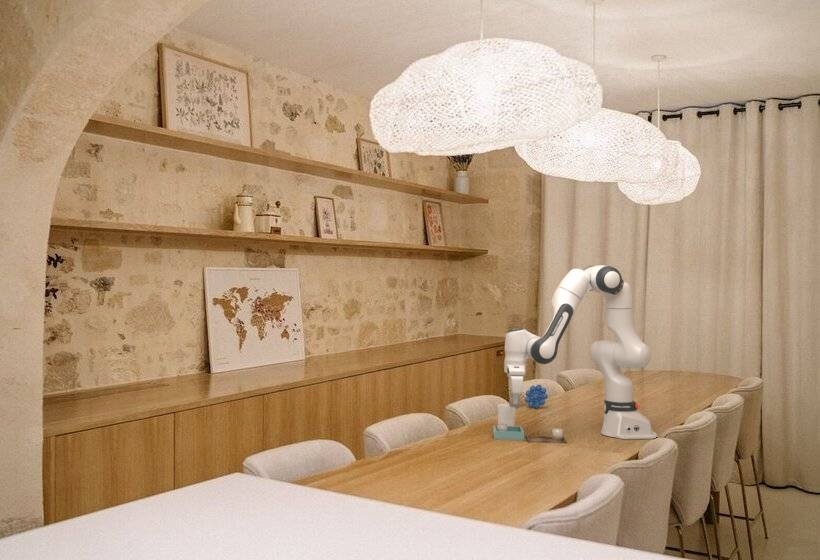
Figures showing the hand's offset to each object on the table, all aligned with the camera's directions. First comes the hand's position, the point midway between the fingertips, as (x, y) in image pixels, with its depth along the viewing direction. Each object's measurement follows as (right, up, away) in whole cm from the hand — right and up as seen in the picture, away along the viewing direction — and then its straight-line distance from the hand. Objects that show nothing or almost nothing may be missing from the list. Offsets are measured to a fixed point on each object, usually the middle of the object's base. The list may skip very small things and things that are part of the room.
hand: (514, 402), depth 299 cm
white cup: (-1, -14, +18) cm, 23 cm away
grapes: (+21, -14, +69) cm, 73 cm away
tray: (+12, -15, -6) cm, 19 cm away
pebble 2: (0, -2, 0) cm, 2 cm away
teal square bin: (-3, -14, 0) cm, 14 cm away
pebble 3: (+16, -14, -6) cm, 22 cm away
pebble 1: (-5, -14, 0) cm, 14 cm away
